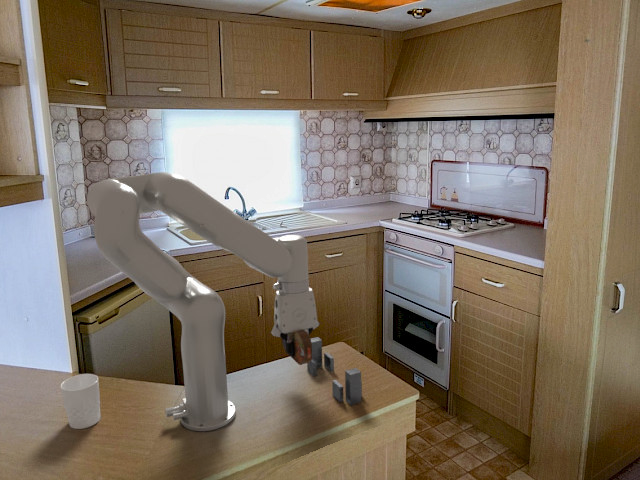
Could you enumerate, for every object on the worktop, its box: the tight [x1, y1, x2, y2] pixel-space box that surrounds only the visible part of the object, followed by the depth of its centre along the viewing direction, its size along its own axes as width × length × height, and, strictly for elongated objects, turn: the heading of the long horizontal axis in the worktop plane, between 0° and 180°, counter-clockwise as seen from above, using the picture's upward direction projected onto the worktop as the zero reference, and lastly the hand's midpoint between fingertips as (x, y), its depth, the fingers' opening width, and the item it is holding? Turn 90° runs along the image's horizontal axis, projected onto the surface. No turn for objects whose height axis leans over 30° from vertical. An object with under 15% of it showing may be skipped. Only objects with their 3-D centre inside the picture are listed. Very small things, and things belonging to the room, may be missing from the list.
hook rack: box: [306, 336, 363, 406], centre depth 134 cm, size 6×23×8 cm, turn 26°
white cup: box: [59, 373, 102, 430], centre depth 119 cm, size 8×8×10 cm
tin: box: [280, 330, 312, 366], centre depth 131 cm, size 15×3×8 cm, turn 26°
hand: (296, 353), depth 131 cm, fingers closed on tin, 2 cm apart
